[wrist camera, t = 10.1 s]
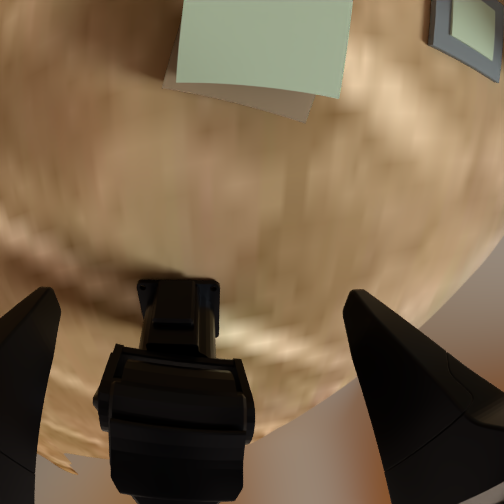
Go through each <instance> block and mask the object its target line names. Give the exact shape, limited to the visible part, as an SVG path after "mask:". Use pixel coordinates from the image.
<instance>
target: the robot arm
mask: <svg viewBox="0 0 504 504" xmlns="http://www.w3.org/2000/svg"><path fill="white" fill-rule="evenodd" d="M141 285H143V286H145V287H142V286H141ZM213 286H214V287H215V288H211V287H213ZM137 291H138V296H139V301H140V305H141V310H142V315H143V319H144V322H143V327H142V333H141V338H140V344H139V349H136V348H130V347H124V345H120V344H116V345H115V348H114V351H113V353H112V352H111V354H110V357H109V360H108V362H107V365H106V368H105V371H104V374H103V377H102V380H101V383H100V386H99V388H98V389H97V391H96V393H95V395H94V397H93V405H94V407H95V408H96V409H97V411H98V415H99V421H100V427H101V429H102V431H105V432H109V456H110V466H111V478H112V481H113V482H114V484H115V486H116V488H117V489H118V491H119V492H120V493H122V494H127V495H131V496H132V497H133V499H134V500H135V501H136V503H137V504H219V503H220V502H228V501H235V500H236V498H237V497H238V495H239V493H240V492H241V490H242V488H243V458H244V448H245V445H248V444H249V443H250V442H251V440H252V437H253V433H254V427H255V407H254V401H253V396H252V393H251V390H250V387H249V383H248V380H247V377H246V373H245V370H244V367H243V363H242V360H241V359H234V358H233V360H231V359H218V358H216V344H215V338H216V337H218V336H219V304H220V284H219V283H218V282H217V281H212V280H139V281H138V284H137ZM60 316H61V309H60V305H59V303H58V300H57V298H56V295H55V293H54V290H53V289H52V288H51V287H39V288H38V289H37V290H35V291H34V292H33V293H31V294H30V295H29V296H27V297H26V298H25V299H24V300H22V301H21V302H20V303H18V304H17V305H16V306H15V307H13V308H12V309H11V310H10V311H8V312H7V313H6V314H5V315H4V316H2V317H1V318H0V504H34V490H35V467H36V455H37V445H38V436H39V428H40V421H41V415H42V409H43V403H44V398H45V393H46V388H47V383H48V378H49V374H50V369H51V365H52V361H53V356H54V350H55V344H56V338H57V332H58V326H59V321H60ZM343 319H344V324H345V328H346V333H347V337H348V342H349V347H350V352H351V356H352V360H353V363H354V367H355V370H356V373H357V376H358V379H359V383H360V386H361V389H362V392H363V396H364V399H365V402H366V406H367V409H368V413H369V416H370V419H371V423H372V427H373V430H374V434H375V438H376V441H377V445H378V449H379V453H380V456H381V460H382V464H383V468H384V471H385V472H384V473H385V477H386V481H387V486H388V490H389V494H390V498H391V503H392V504H504V392H503V391H501V390H500V389H498V388H497V387H495V386H494V385H492V384H491V383H489V382H488V381H486V380H485V379H483V378H482V377H480V376H479V375H478V374H476V373H474V372H473V371H472V370H470V369H469V368H467V367H466V366H465V365H463V364H462V363H461V362H460V361H458V360H457V359H456V358H454V357H453V356H452V355H451V354H449V353H448V352H447V353H446V351H445V350H444V349H443V348H441V347H440V346H439V345H438V344H436V343H435V342H434V341H432V340H431V339H430V338H429V337H427V336H426V335H424V334H423V333H422V332H421V331H419V330H418V329H417V328H415V327H414V326H413V325H411V324H410V323H409V322H407V321H406V320H405V319H403V318H402V317H401V316H399V315H398V314H397V313H395V312H394V311H393V310H391V309H390V308H389V307H387V306H386V305H385V304H383V303H382V302H380V301H379V300H378V299H376V298H375V297H374V296H372V295H371V294H370V293H368V292H367V291H365V290H363V289H355V290H351V291H350V293H349V295H348V298H347V300H346V303H345V306H344V308H343Z"/></svg>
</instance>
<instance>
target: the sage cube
mask: <svg viewBox="0 0 504 504" xmlns="http://www.w3.org/2000/svg"><path fill="white" fill-rule="evenodd" d="M352 4H353V0H184V4H183V12H182V21H181V30H180V39H179V50H178V62H177V75H176V83H218V84H235V85H248V86H258V87H268V88H276V89H284V90H291V91H298V92H304V93H310V94H316V95H322V96H327V97H332V98H337V99H339V97H340V91H341V84H342V78H343V72H344V65H345V58H346V51H347V44H348V37H349V29H350V21H351V13H352Z"/></svg>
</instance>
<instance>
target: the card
mask: <svg viewBox="0 0 504 504" xmlns="http://www.w3.org/2000/svg"><path fill="white" fill-rule="evenodd" d="M503 31H504V6H503V5H502V4H501V3H500V2H498V1H497V0H431V15H430V28H429V39H428V46H431V47H433V48H435V49H437V50H439V51H441V52H443V53H445V54H447V55H449V56H451V57H453V58H455V59H456V60H458V61H460V62H462V63H464V64H465V65H467V66H469V67H471V68H472V69H474V70H476V71H477V72H479V73H481V74H482V75H484V76H485V77H487V78H489V79H490V80H492V81H493V82H496V83H499V78H500V70H501V61H502V49H503Z"/></svg>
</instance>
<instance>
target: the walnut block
mask: <svg viewBox="0 0 504 504" xmlns="http://www.w3.org/2000/svg"><path fill="white" fill-rule="evenodd" d="M181 21H182V20H181ZM180 30H181V23H180V26H179V29H178V32H177V36H176V39H175V42H174V45H173V49H172V52H171V56H170V59H169V63H168V66H167V70H166V74H165V78H164V82H163V86H162V88H164V89H170V90H176V91H182V92H187V93H192V94H197V95H202V96H207V97H211V98H216V99H220V100H225V101H229V102H233V103H237V104H241V105H245V106H249V107H252V108H256V109H260V110H263V111H267V112H270V113H274V114H277V115H280V116H284V117H287V118H290V119H293V120H296V121H299V122H302V123H306V120H307V118H308V115H309V112H310V109H311V107H312V104H313V101H314V98H315V95H316V94H310V93H304V92H298V91H291V90H284V89H276V88H268V87H258V86H248V85H235V84H218V83H176V75H177V62H178V50H179V39H180Z"/></svg>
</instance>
